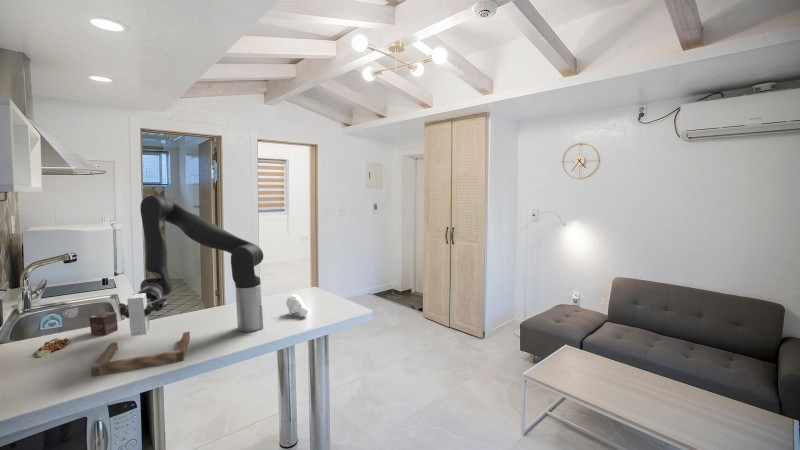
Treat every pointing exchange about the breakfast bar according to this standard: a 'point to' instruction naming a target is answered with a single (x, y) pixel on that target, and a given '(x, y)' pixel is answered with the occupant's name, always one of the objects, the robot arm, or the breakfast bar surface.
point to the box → (103, 323)
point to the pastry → (51, 347)
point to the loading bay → (137, 358)
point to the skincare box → (138, 314)
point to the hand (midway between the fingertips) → (136, 313)
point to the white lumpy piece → (296, 305)
